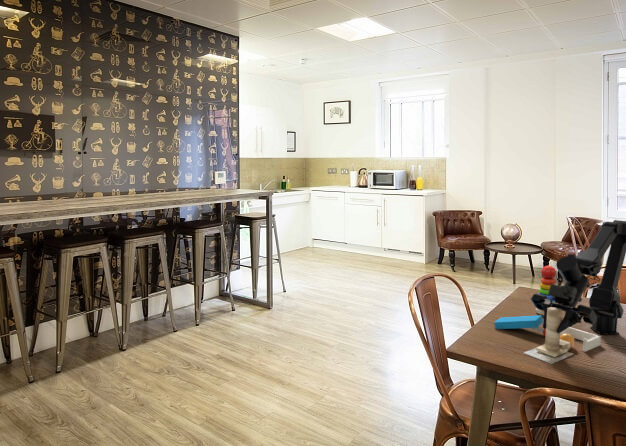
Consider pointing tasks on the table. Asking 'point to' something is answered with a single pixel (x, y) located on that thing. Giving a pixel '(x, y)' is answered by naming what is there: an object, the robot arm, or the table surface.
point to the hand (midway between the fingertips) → (550, 330)
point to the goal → (584, 338)
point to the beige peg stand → (553, 335)
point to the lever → (520, 323)
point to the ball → (567, 338)
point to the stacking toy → (546, 284)
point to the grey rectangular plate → (547, 356)
